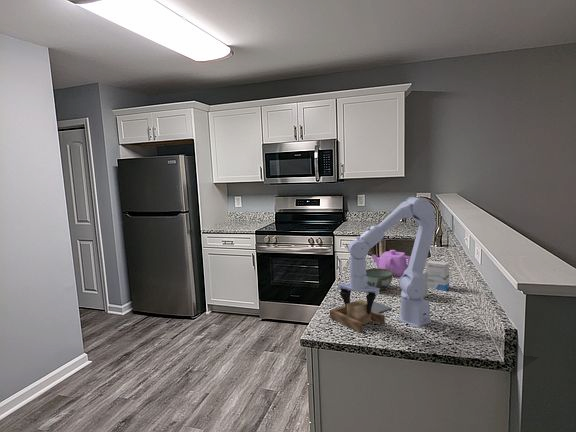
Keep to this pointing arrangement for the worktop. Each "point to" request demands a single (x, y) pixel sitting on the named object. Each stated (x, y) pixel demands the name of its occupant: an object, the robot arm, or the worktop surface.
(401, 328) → the worktop surface
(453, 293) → the worktop surface
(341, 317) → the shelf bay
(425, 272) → the small box
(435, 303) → the worktop surface
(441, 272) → the ink box
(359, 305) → the gripped blank
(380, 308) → the mat
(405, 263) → the teakettle
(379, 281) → the bowl
